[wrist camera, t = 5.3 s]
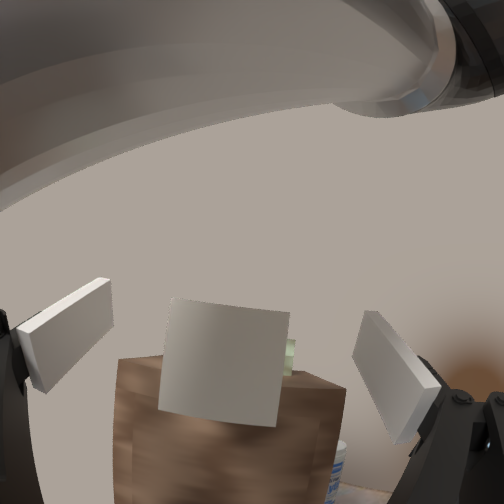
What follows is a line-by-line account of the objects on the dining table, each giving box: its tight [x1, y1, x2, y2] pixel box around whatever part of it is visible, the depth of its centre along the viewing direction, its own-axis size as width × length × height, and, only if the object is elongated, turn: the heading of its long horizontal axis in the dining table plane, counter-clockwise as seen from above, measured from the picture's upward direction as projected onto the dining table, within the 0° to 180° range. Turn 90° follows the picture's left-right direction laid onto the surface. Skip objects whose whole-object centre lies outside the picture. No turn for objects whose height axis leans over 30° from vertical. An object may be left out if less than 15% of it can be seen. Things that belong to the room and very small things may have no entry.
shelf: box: [113, 339, 346, 504], centre depth 19 cm, size 15×14×33 cm
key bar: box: [158, 297, 290, 427], centre depth 17 cm, size 4×18×4 cm, turn 1°
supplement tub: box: [324, 440, 346, 504], centre depth 39 cm, size 10×10×15 cm
